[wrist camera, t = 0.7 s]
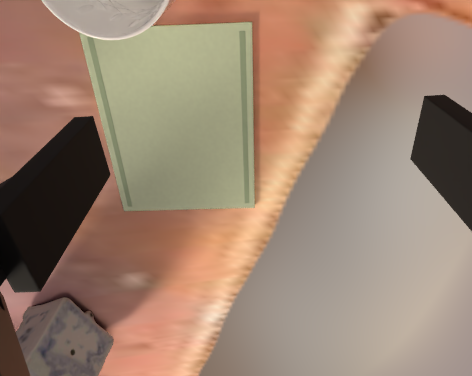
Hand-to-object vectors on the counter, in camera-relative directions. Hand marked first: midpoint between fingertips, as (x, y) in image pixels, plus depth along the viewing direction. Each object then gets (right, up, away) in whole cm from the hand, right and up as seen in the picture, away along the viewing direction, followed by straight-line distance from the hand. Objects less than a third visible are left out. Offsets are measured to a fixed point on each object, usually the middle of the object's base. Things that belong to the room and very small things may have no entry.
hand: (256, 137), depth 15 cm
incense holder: (-23, -20, +34) cm, 46 cm away
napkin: (-6, +3, +19) cm, 20 cm away
